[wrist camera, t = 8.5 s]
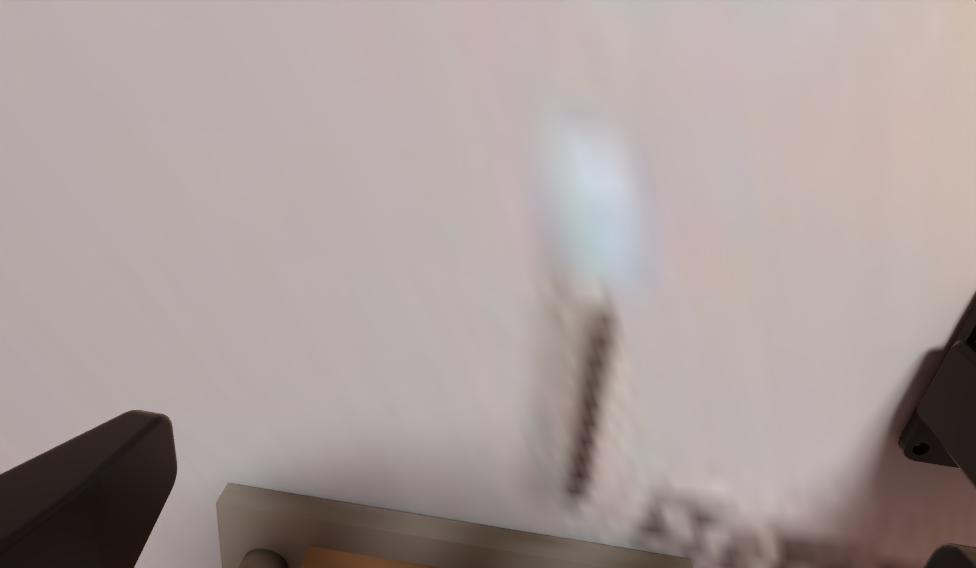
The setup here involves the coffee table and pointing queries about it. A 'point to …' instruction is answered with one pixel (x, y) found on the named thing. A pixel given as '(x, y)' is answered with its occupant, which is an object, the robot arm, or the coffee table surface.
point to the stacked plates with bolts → (391, 539)
